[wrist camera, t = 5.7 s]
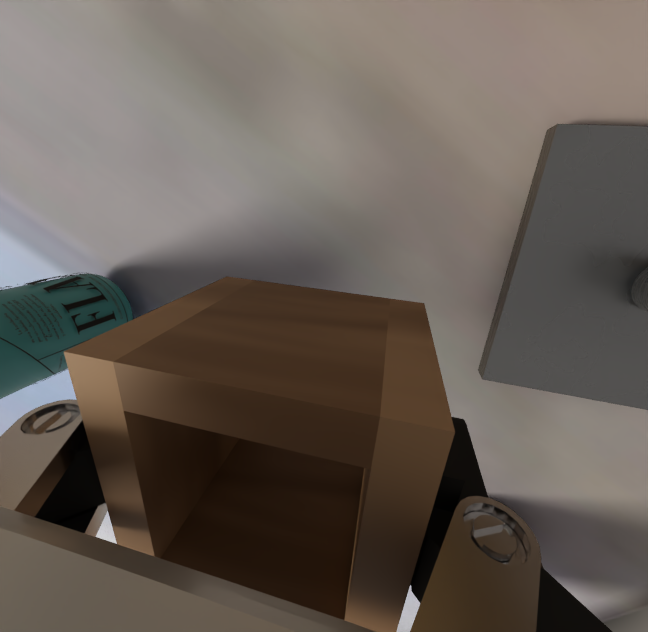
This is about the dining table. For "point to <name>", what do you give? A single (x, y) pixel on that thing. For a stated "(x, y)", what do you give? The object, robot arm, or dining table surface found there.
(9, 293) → the beverage bottle
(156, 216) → the dining table surface
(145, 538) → the walnut collar
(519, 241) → the post block
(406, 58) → the dining table surface
